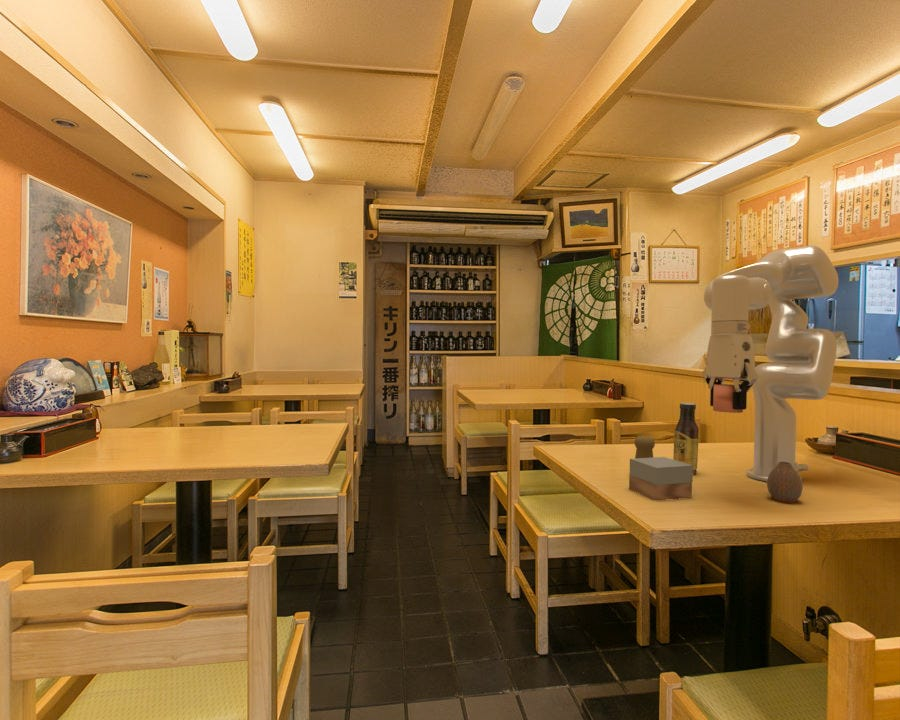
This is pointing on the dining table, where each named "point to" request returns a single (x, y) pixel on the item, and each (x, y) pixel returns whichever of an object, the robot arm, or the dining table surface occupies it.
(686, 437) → the sauce bottle
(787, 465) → the brown egg-shaped piece
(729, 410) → the reddish pink cylinder
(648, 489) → the tower bottom block
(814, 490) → the dining table surface
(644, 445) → the cork
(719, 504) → the dining table surface
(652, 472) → the tower top block
